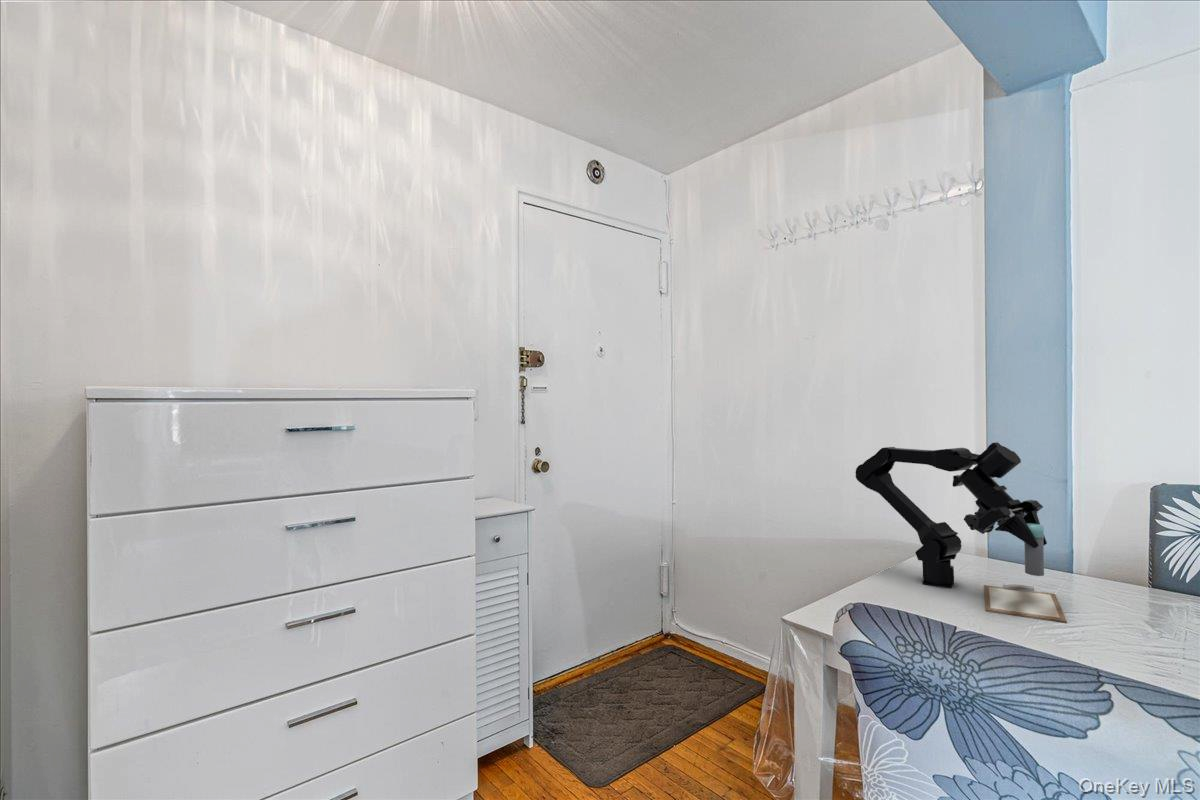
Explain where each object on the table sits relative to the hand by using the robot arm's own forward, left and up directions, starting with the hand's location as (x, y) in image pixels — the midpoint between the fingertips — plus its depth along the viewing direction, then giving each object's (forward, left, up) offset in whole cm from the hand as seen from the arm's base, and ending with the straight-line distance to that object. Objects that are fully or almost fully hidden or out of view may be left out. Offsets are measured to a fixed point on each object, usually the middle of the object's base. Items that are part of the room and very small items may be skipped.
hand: (1040, 545), depth 122 cm
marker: (-1, +1, -7) cm, 7 cm away
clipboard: (-4, +3, -14) cm, 15 cm away
